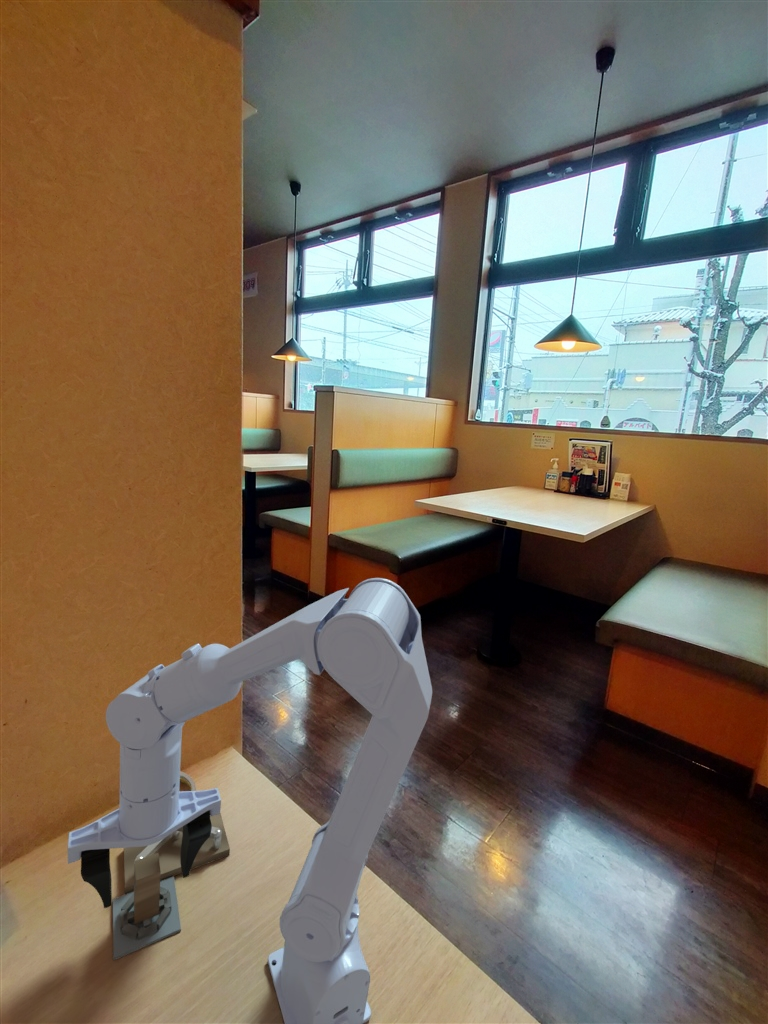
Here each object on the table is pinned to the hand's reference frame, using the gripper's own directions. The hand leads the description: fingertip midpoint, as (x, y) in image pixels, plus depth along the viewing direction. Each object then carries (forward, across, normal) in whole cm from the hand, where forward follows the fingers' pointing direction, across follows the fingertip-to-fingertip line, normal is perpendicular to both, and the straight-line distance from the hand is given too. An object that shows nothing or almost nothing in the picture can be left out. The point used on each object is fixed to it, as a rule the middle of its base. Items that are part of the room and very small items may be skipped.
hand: (147, 883), depth 51 cm
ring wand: (+4, 0, 0) cm, 4 cm away
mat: (+5, 0, 0) cm, 5 cm away
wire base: (+5, -4, -7) cm, 9 cm away
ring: (+4, -7, -13) cm, 15 cm away
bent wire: (+5, -4, -7) cm, 9 cm away
